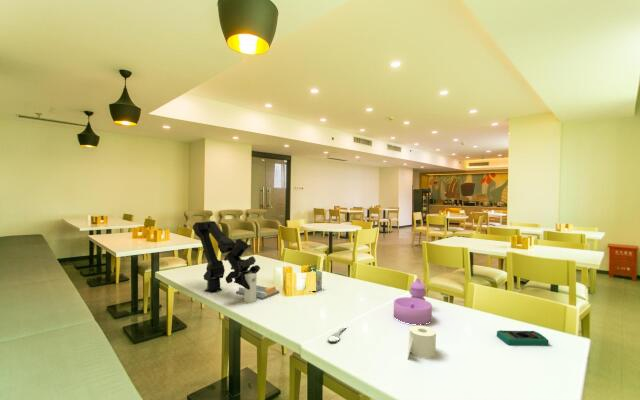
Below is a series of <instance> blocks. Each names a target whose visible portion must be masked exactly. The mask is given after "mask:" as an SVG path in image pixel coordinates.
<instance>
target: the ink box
mask: <svg viewBox="0 0 640 400" xmlns="http://www.w3.org/2000/svg"><path fill="white" fill-rule="evenodd" d="M312 270H313V271H315V272H316V292H319V291H320V290H321V291H322V289H323V285H322V284H323V271H320V270H317V264H313V265H312V264H311V265H310V266H308V273H309V272H310V271H312ZM318 290H319V291H318Z"/></svg>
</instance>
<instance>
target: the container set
mask: <svg viewBox="0 0 640 400" xmlns="http://www.w3.org/2000/svg"><path fill="white" fill-rule="evenodd" d="M409 286H410V288H409V294H410V295H411V296H409V297H408V296H407V297H406V296H404V297H398V298H396V299H393V318H394V317H395V318H396V319H398V320H400V321H402V322H405V323H409V324H416V325H420V324H421V325H420V326H423V325H422V324H426V323H429V322H431V323H432V321H431V320H432V319H433V318H432V310H433V308H432V307H433V305H432V303H431V302H430V301H427V300H426V299H425V296H426V295H427V291H426V284H425V283H424V282H421V279H420V278H415V281H412V282H411V283H410V285H409ZM395 318H394V319H395ZM396 319H395V320H396ZM409 324H408V325H409ZM429 324H430V323H429ZM416 325H415V326H416Z"/></svg>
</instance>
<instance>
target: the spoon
mask: <svg viewBox="0 0 640 400" xmlns="http://www.w3.org/2000/svg"><path fill="white" fill-rule="evenodd" d="M344 329H345V328H340V329H339V330H338V331H336V332H335V333H333V334H331V335H330V336H335V337H338V338H339V339H341V337H340V333H341V332H343V331H344ZM345 330H346V329H345ZM327 341H328V342H333V343H335V342H338V340H337V341H335V340H332V341H330V340H329V339H328V338H327Z"/></svg>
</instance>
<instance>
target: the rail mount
mask: <svg viewBox="0 0 640 400" xmlns="http://www.w3.org/2000/svg"><path fill="white" fill-rule="evenodd" d="M235 293H236V294H237V295H242V296H244V287H243V286H240V287H238V290H236V291H235ZM279 293H280V290H278V288H277V287H276V286H274V285H273V286H270V287H269V286H264V285H260V284H256V299H258V300H262V301H263V300H266V299H267V298H270V297H273V296H275V295H277V294H279Z"/></svg>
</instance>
